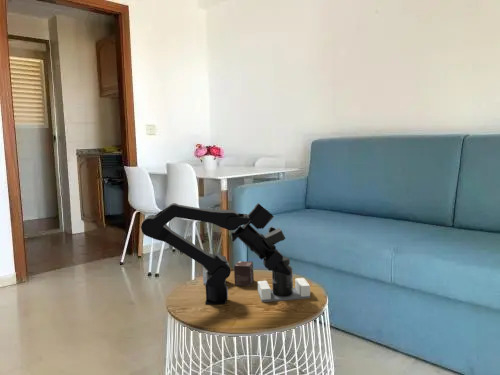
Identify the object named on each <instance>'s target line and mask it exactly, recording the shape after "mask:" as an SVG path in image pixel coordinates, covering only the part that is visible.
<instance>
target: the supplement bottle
mask: <svg viewBox="0 0 500 375" xmlns="http://www.w3.org/2000/svg"><path fill="white" fill-rule="evenodd" d="M283 263H284V264H285V266H286V267H287V268H288V270H289V271H290V272H291V274H290V275H286V274H282V273H279V272H275V271H271V273H272V274H271V276H272V278H271V280H272V282H271V284H272V290H273V294H274V295H276V296H280V297H286V296H290V295H291V294H292V293H293V288H294V273H293V272H294V271H293V267H292V266H291V265H290V264H291V263H290V258H289V257H287V256H283Z"/></svg>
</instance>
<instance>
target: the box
mask: <svg viewBox="0 0 500 375" xmlns="http://www.w3.org/2000/svg"><path fill="white" fill-rule="evenodd" d="M233 274H234V286H249V287H250V286H252V285H253V283H254V281H255V279H254V262H253V261H243V260H242V261H237V262H235V264H234V265H233Z"/></svg>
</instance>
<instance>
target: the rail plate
mask: <svg viewBox="0 0 500 375" xmlns="http://www.w3.org/2000/svg"><path fill="white" fill-rule="evenodd" d="M294 281H295V282H294V283H295V285H294V287H293V293H292V294H291V295H290V296H286V297H280V296H276V295H274V294H273V289H271V287H270V284H269V283H268V281H267V280H258V281H257V293H258V296H259V298H260V301H261V303H267V302H269V303H271V302H279V301H280V302H281V301H293V300H304V299H306V300H307V299H311V286H310V284H309V282H308V281H307V280H306V279H305V277H297V278H294Z"/></svg>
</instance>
